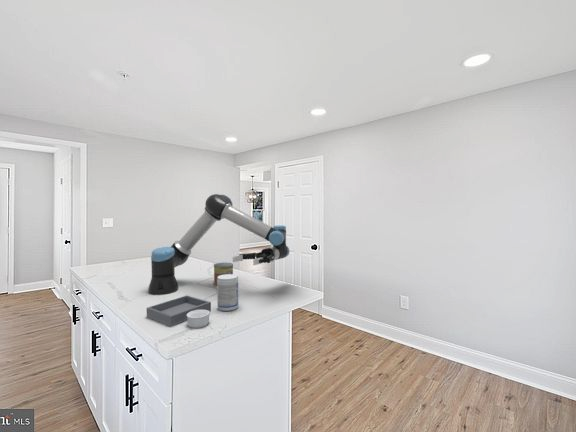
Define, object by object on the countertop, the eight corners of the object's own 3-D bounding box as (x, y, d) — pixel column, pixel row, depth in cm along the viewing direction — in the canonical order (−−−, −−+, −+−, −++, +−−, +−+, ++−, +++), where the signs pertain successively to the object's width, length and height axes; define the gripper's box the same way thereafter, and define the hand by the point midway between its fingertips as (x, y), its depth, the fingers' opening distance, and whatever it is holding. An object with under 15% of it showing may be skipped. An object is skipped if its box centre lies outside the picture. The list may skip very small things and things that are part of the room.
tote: (146, 317, 118) (146, 307, 118) (186, 303, 135) (186, 295, 135) (170, 326, 109) (170, 316, 109) (210, 310, 125) (210, 302, 125)
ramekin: (181, 326, 109) (181, 315, 109) (196, 318, 117) (196, 308, 117) (200, 330, 106) (200, 319, 106) (214, 321, 114) (214, 311, 114)
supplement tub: (241, 309, 128) (241, 277, 127) (221, 313, 123) (221, 280, 122) (233, 302, 136) (233, 272, 136) (214, 306, 131) (214, 275, 130)
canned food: (223, 287, 161) (223, 267, 161) (210, 284, 167) (209, 264, 167) (237, 283, 171) (237, 263, 170) (223, 280, 177) (223, 261, 176)
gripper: (288, 263, 148) (263, 271, 131) (252, 259, 162) (225, 265, 144) (288, 249, 148) (263, 255, 130) (252, 246, 162) (225, 251, 144)
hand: (243, 260), depth 137 cm, fingers open, 13 cm apart
